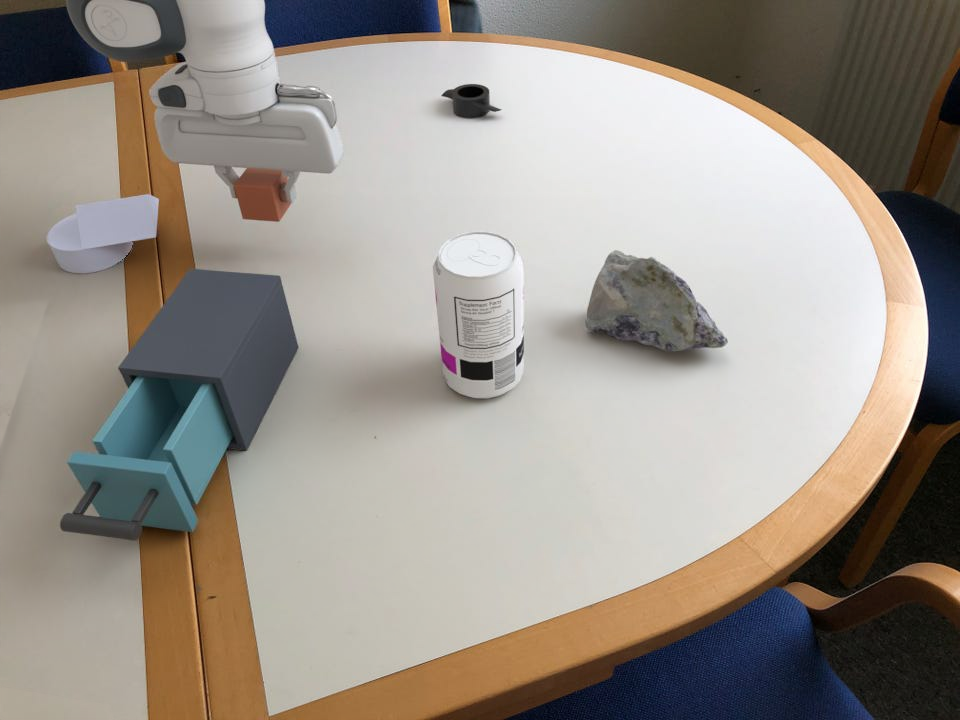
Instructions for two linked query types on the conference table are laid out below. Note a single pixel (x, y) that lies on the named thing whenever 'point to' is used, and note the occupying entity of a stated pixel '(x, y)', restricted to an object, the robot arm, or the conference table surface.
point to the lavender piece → (102, 232)
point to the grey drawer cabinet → (221, 343)
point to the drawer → (151, 459)
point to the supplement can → (480, 313)
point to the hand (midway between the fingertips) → (264, 198)
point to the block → (261, 194)
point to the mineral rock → (649, 306)
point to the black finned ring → (470, 100)
